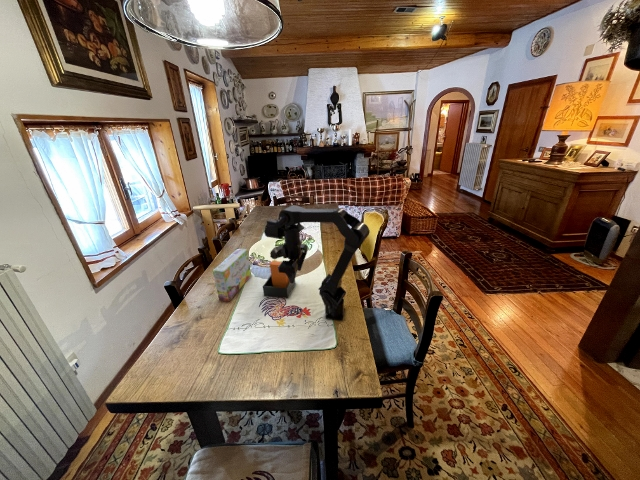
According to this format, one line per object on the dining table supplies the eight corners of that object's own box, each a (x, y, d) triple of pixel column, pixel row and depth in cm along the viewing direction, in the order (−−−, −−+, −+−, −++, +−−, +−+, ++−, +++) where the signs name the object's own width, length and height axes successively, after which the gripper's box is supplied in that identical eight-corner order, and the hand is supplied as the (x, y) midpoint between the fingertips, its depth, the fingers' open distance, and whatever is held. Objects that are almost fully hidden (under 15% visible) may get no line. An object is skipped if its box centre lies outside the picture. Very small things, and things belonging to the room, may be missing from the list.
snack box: (230, 302, 107) (223, 271, 101) (218, 300, 108) (211, 270, 102) (252, 275, 126) (247, 248, 120) (242, 274, 127) (236, 247, 121)
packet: (290, 287, 114) (287, 262, 109) (287, 291, 112) (284, 265, 106) (276, 285, 116) (272, 260, 111) (273, 289, 114) (269, 264, 108)
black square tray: (295, 283, 118) (294, 274, 115) (288, 298, 108) (286, 288, 106) (273, 282, 120) (272, 272, 118) (264, 296, 110) (262, 286, 108)
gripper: (280, 230, 103) (284, 263, 109) (261, 250, 86) (267, 288, 92) (306, 231, 100) (309, 265, 107) (292, 252, 84) (296, 291, 90)
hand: (295, 276), depth 99 cm, fingers open, 9 cm apart
